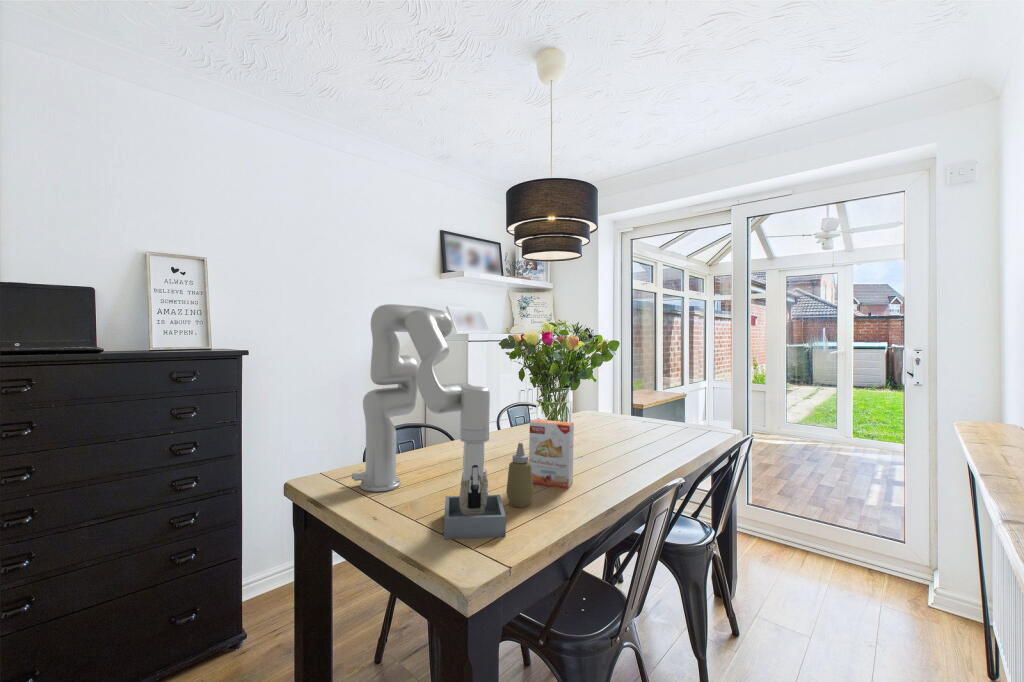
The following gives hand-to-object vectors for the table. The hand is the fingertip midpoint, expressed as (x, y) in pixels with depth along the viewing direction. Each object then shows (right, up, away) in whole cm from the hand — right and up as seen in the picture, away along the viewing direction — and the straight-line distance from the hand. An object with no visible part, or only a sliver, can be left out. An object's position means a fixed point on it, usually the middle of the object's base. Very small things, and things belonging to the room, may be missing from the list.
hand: (473, 502), depth 116 cm
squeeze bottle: (+12, -6, +15) cm, 20 cm away
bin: (0, -6, 0) cm, 6 cm away
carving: (0, -3, 0) cm, 3 cm away
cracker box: (+23, -6, +33) cm, 41 cm away
